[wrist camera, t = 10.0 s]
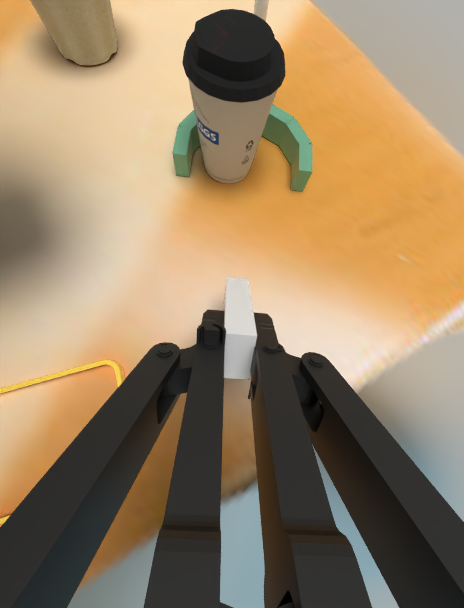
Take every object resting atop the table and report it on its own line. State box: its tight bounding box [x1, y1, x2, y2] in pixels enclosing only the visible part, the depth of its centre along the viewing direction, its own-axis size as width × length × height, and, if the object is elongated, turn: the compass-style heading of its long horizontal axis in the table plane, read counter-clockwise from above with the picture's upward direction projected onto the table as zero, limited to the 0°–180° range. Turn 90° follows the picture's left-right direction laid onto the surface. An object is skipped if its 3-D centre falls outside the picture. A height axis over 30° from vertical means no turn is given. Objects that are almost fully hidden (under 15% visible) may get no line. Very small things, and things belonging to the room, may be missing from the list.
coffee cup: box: [183, 9, 285, 184], centre depth 20 cm, size 7×7×10 cm
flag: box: [254, 0, 269, 21], centre depth 19 cm, size 6×1×17 cm, turn 85°
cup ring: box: [173, 104, 312, 191], centre depth 24 cm, size 12×8×2 cm, turn 85°
